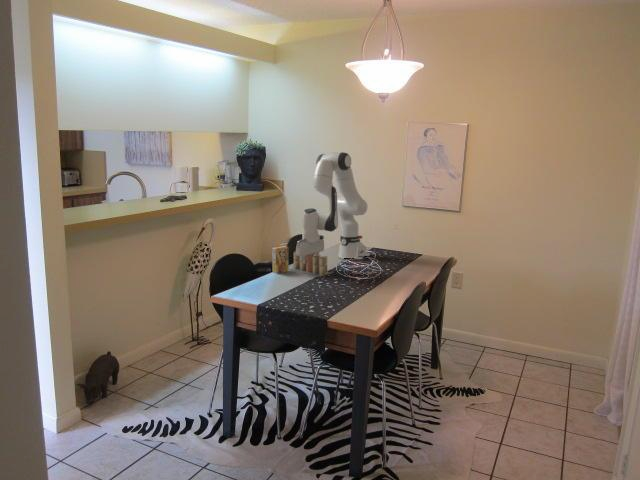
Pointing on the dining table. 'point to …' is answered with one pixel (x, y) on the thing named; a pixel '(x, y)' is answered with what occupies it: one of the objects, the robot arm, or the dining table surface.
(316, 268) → the tile
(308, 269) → the tile
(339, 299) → the dining table surface
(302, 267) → the tile
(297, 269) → the slate board
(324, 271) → the tile
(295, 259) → the tile
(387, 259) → the dining table surface
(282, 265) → the candy box
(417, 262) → the dining table surface
